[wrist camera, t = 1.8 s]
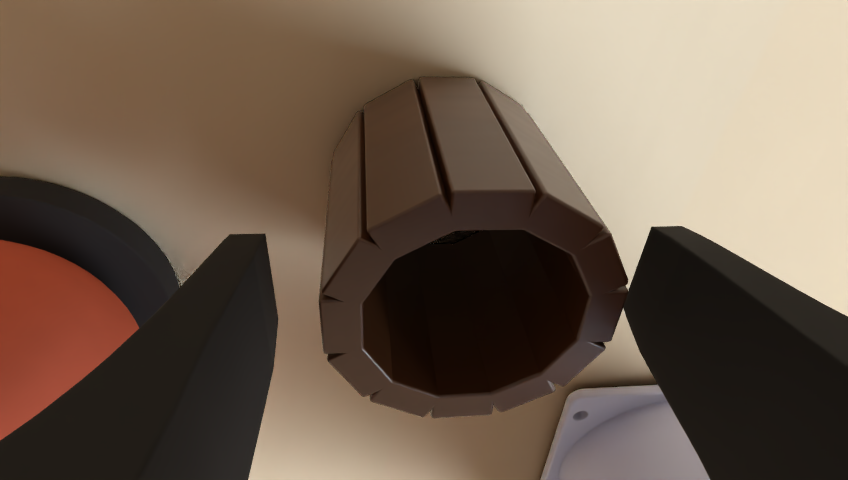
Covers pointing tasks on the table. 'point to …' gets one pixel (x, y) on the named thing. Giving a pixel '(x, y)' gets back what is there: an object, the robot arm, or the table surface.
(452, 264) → the napkin ring
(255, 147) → the table surface
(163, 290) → the ball
